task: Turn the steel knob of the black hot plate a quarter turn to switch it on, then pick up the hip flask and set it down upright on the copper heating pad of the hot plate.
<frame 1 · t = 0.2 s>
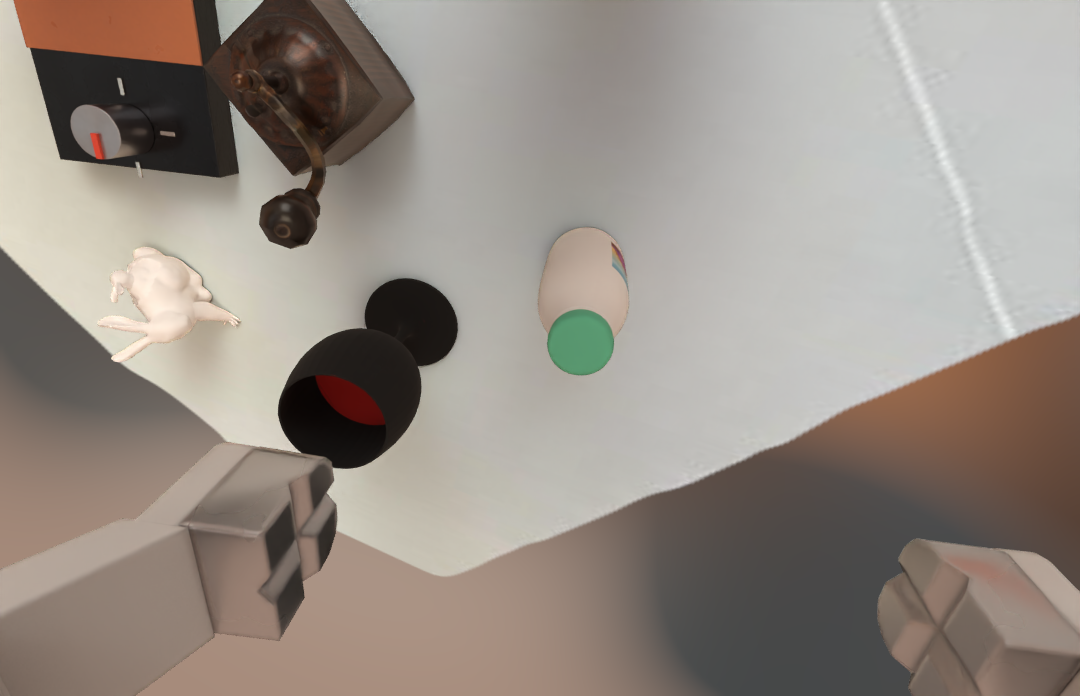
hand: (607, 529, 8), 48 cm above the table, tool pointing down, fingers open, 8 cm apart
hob: (142, 64, 51), on the table
heating pad: (104, 3, 46), resting on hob
wine glass: (412, 322, 60), on the table
milk bottle: (585, 263, 56), on the table
hob knob: (112, 131, 49), point 5 cm above the table, hinge at 0.0°
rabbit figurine: (184, 293, 61), on the table
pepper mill: (358, 110, 51), on the table
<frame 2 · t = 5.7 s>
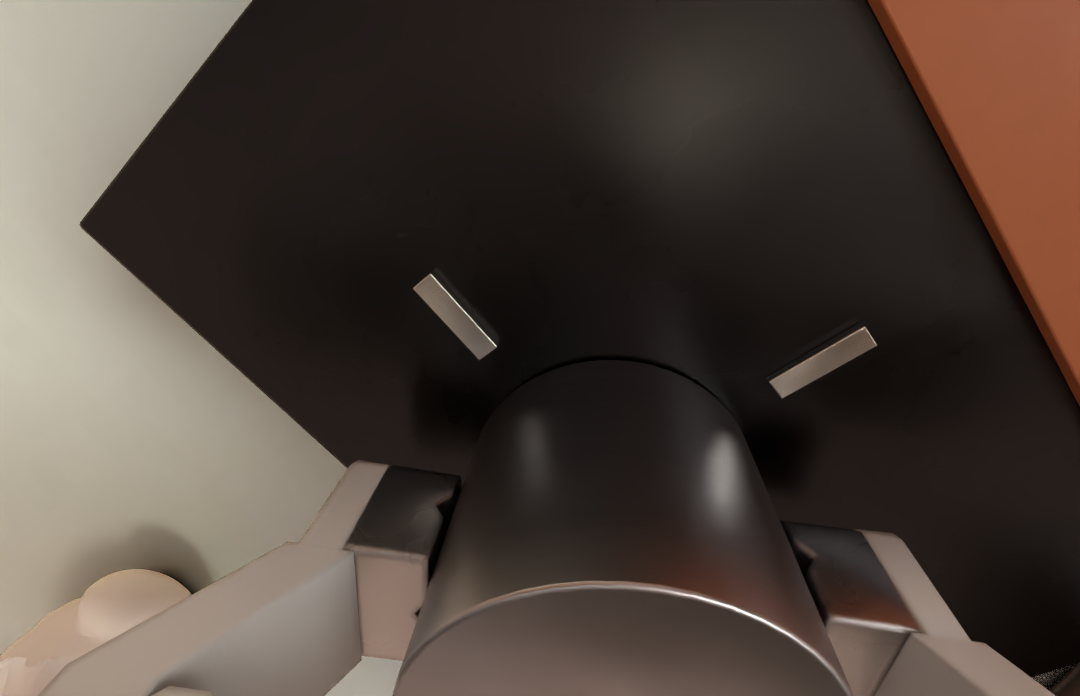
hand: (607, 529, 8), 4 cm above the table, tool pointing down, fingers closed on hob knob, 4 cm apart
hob: (857, 225, 10), on the table
hob knob: (612, 591, 7), point 5 cm above the table, hinge at -0.2°, touching gripper
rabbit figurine: (155, 657, 18), on the table
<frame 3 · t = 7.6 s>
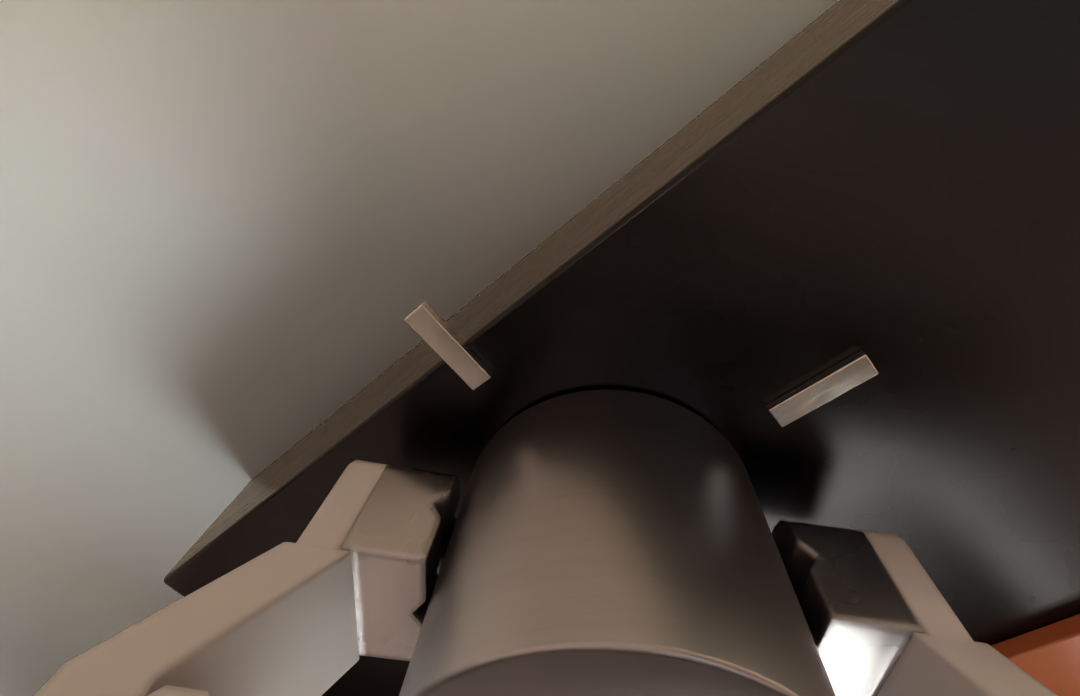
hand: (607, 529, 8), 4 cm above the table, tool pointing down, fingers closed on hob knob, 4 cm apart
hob: (748, 569, 13), on the table
hob knob: (609, 630, 7), point 5 cm above the table, hinge at 91.4°, touching gripper
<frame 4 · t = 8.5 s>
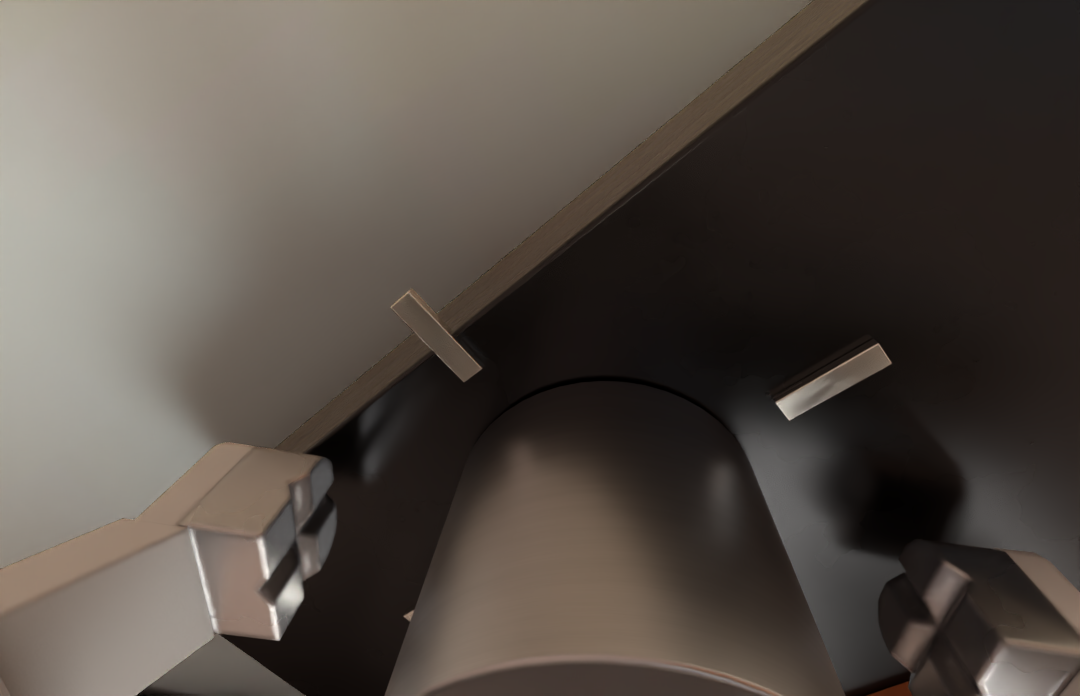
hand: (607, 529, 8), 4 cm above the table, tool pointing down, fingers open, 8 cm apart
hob: (750, 568, 12), on the table
hob knob: (607, 635, 6), point 5 cm above the table, hinge at 91.2°
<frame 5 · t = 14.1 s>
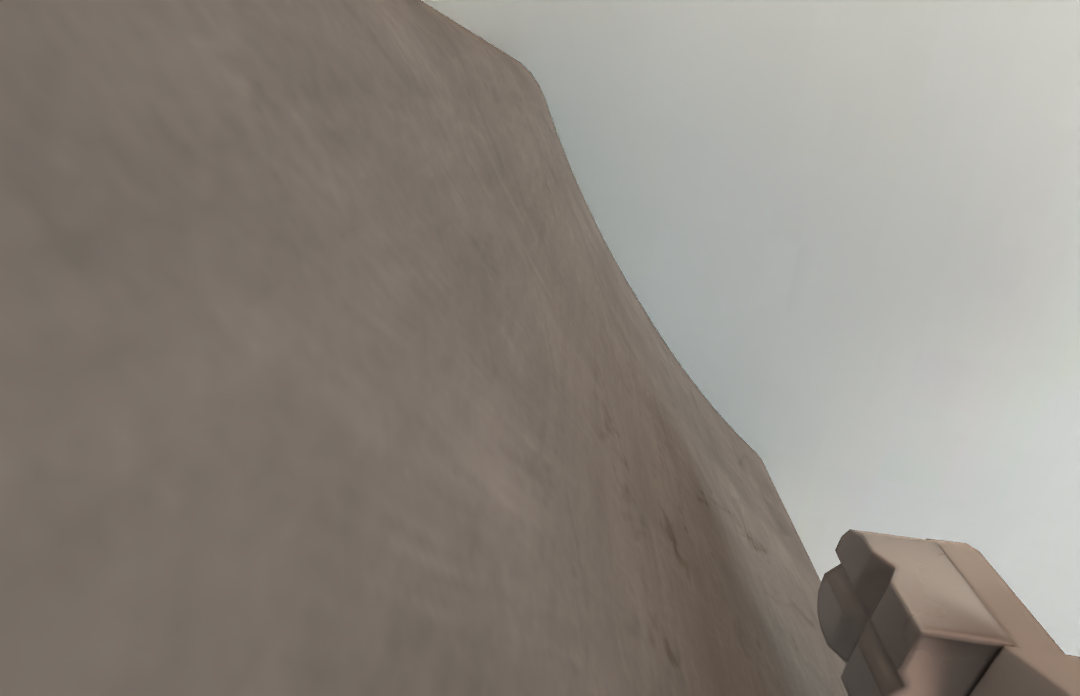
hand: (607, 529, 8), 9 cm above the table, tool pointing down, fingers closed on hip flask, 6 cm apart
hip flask: (600, 327, 16), on the table, touching arm, gripper
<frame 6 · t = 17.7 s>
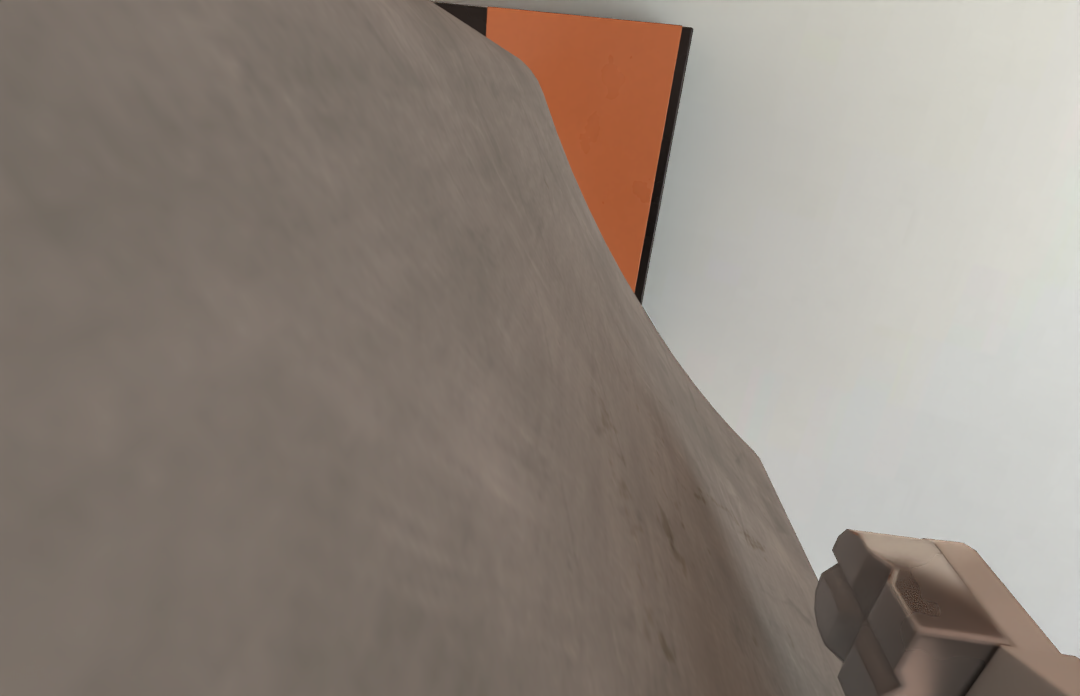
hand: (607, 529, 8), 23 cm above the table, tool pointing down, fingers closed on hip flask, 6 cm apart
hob: (481, 190, 29), on the table
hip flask: (598, 325, 16), point 14 cm above the table, touching arm, gripper
heating pad: (562, 211, 26), resting on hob
when the fingers open (12 cm above the table, at t = 21.3 s): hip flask stays where it is, resting on heating pad.
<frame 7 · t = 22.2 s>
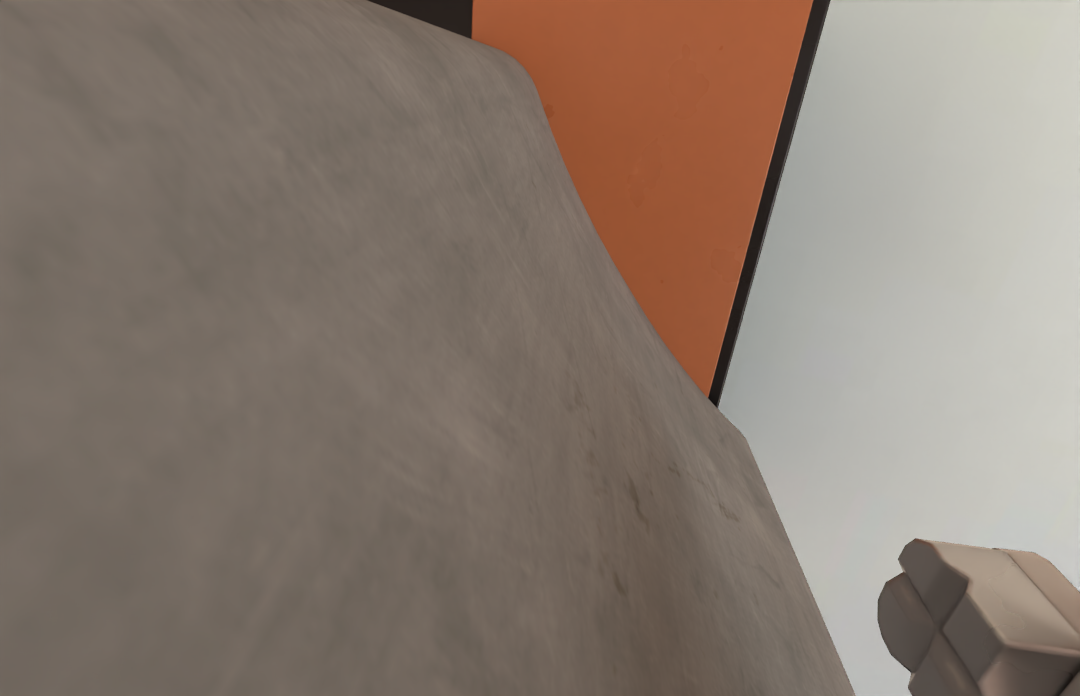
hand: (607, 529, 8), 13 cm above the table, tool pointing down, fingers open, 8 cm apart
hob: (469, 249, 19), on the table
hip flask: (592, 312, 17), point 3 cm above the table, touching heating pad
heating pad: (595, 292, 17), resting on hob
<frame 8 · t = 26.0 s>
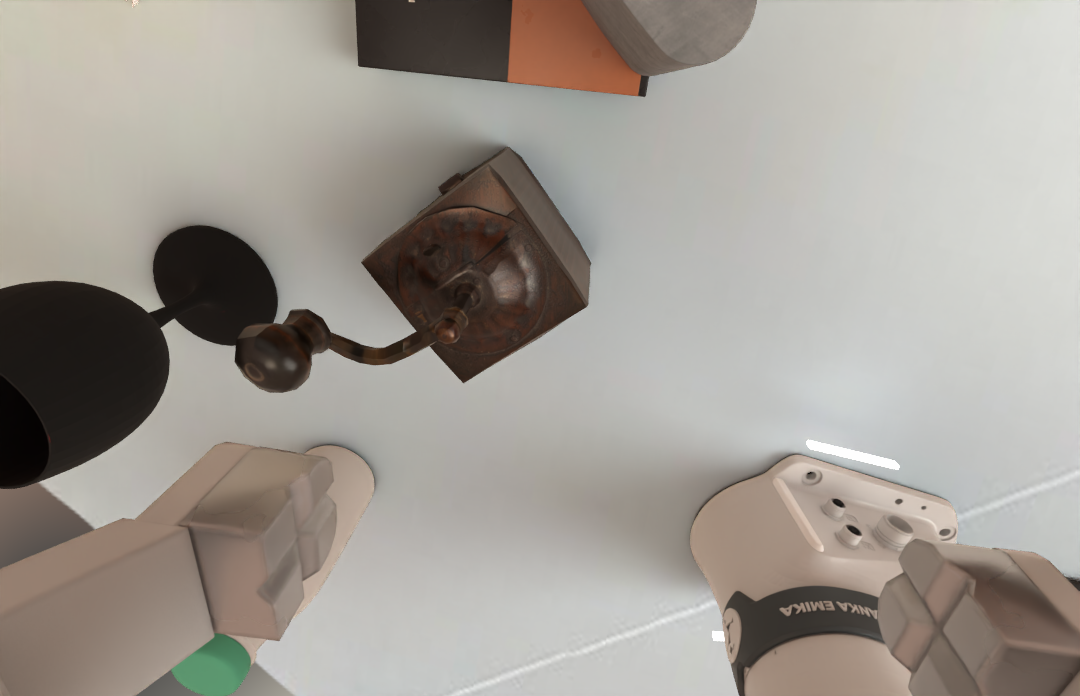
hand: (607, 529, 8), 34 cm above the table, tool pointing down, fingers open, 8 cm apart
wine glass: (218, 286, 45), on the table
milk bottle: (338, 474, 53), on the table
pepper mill: (470, 258, 42), on the table
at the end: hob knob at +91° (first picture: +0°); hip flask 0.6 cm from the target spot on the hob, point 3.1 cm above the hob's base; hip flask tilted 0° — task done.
